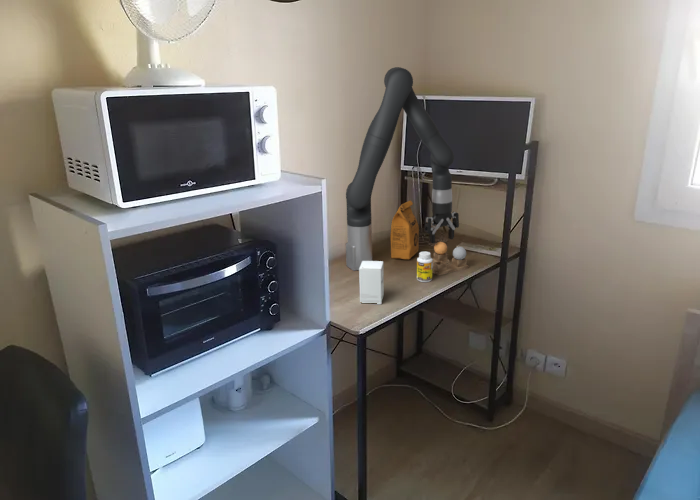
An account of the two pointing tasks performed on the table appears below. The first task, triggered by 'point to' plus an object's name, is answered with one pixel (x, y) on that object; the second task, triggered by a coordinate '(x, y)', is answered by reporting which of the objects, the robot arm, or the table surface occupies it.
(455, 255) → the ball grey
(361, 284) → the supplement box
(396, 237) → the coffee package
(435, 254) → the stand single
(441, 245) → the ball orange
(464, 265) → the rack
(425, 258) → the supplement bottle
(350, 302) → the table surface
